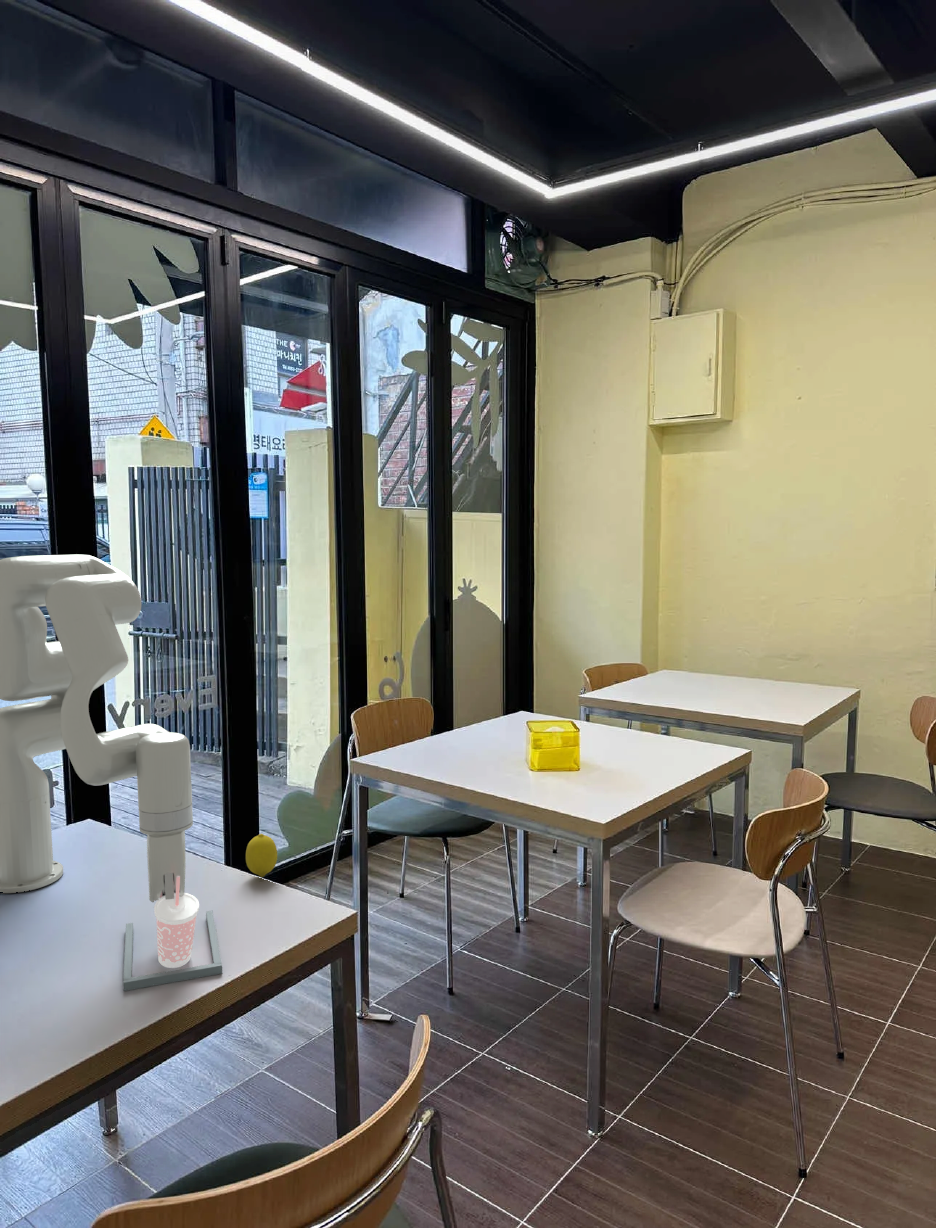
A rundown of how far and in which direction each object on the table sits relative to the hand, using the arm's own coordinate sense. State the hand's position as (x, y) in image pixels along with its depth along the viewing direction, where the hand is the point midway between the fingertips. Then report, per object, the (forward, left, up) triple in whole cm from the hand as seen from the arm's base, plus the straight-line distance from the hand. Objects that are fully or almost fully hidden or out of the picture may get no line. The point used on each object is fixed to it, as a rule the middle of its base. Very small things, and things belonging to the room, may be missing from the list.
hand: (171, 935), depth 130 cm
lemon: (-21, +16, -2) cm, 27 cm away
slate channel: (+1, 0, -2) cm, 2 cm away
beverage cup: (+4, 0, -2) cm, 5 cm away
